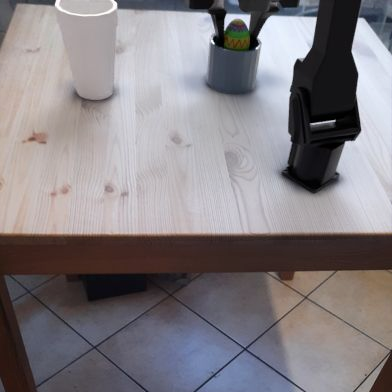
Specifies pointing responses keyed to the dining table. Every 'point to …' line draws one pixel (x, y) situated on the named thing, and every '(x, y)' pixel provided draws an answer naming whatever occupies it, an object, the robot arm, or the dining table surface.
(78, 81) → the foam cup
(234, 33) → the egg
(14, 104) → the dining table surface
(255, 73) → the cup
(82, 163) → the dining table surface
